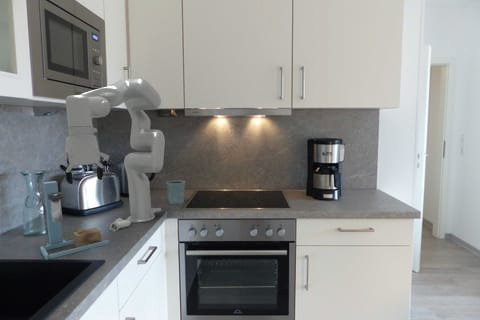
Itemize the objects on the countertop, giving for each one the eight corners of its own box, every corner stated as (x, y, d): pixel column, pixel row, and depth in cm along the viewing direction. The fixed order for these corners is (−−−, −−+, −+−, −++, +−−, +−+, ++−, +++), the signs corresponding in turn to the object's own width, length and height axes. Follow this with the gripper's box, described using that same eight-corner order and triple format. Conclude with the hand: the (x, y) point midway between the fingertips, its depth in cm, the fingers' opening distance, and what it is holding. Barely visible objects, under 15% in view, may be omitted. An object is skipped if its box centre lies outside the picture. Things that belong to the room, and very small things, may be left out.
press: (97, 233, 131) (92, 176, 128) (109, 243, 119) (104, 180, 116) (38, 247, 118) (31, 183, 115) (45, 259, 106) (37, 189, 103)
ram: (63, 217, 116) (60, 191, 115) (66, 220, 112) (63, 193, 111) (49, 220, 113) (46, 194, 112) (51, 223, 109) (48, 195, 108)
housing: (96, 239, 124) (95, 224, 123) (101, 243, 120) (99, 227, 119) (74, 245, 119) (72, 229, 118) (78, 249, 114) (76, 233, 114)
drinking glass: (167, 201, 184) (165, 181, 183) (184, 199, 187) (183, 179, 186) (168, 205, 174) (167, 184, 173) (187, 203, 177) (186, 182, 176)
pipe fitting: (131, 226, 141) (116, 225, 141) (131, 217, 141) (116, 217, 141) (126, 232, 133) (109, 231, 133) (126, 223, 133) (109, 222, 133)
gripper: (103, 131, 117) (106, 176, 119) (49, 133, 106) (55, 183, 107) (110, 131, 112) (114, 178, 113) (55, 133, 100) (60, 186, 102)
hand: (85, 181), depth 110 cm, fingers open, 9 cm apart
